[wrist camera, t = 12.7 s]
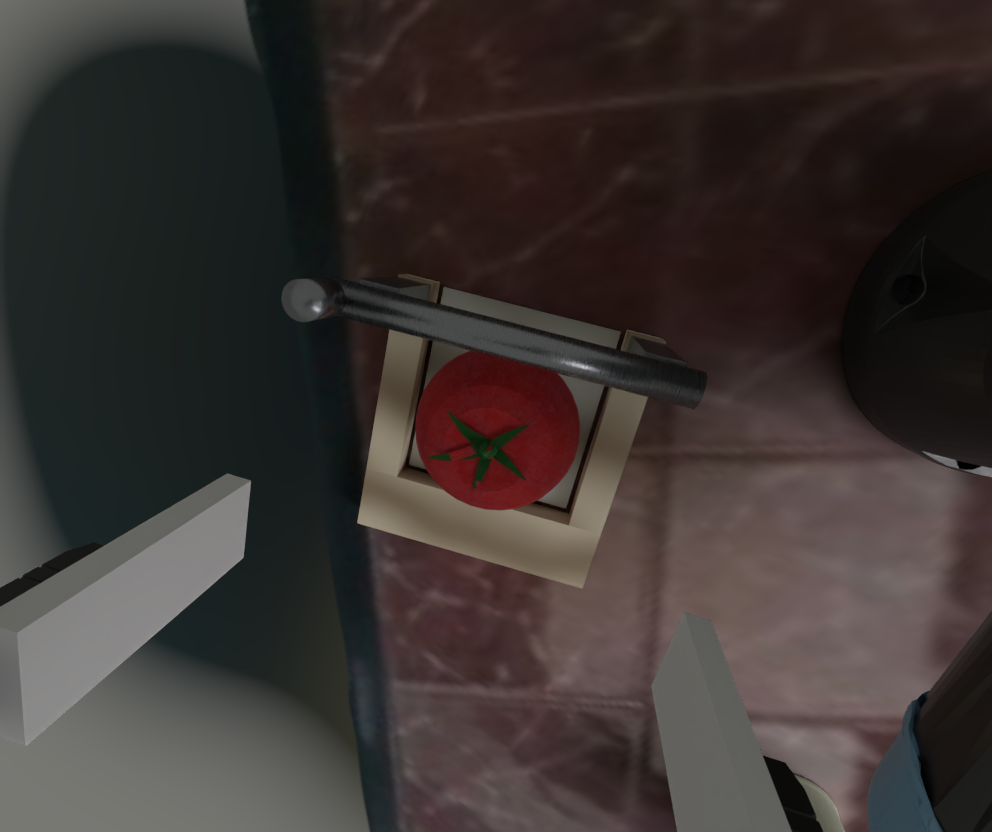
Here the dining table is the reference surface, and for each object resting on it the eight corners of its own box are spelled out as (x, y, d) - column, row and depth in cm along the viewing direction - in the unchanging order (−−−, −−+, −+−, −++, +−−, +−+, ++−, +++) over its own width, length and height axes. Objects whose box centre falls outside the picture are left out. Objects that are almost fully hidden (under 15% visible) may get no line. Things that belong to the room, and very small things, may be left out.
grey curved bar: (376, 270, 28) (284, 271, 19) (675, 346, 27) (727, 386, 18) (371, 302, 28) (279, 318, 20) (664, 378, 27) (709, 432, 18)
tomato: (418, 452, 32) (371, 508, 24) (455, 317, 29) (416, 335, 22) (550, 497, 32) (544, 569, 24) (600, 365, 29) (611, 400, 21)
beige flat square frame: (407, 273, 29) (398, 274, 28) (661, 338, 28) (666, 342, 27) (366, 511, 34) (357, 523, 33) (581, 574, 33) (582, 588, 32)
